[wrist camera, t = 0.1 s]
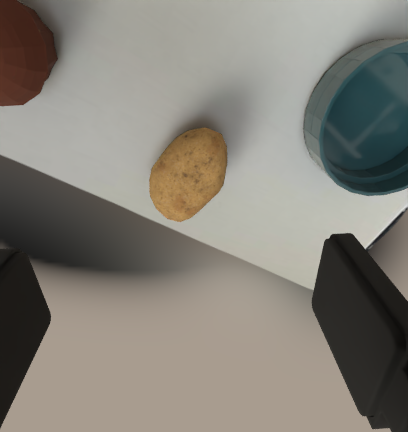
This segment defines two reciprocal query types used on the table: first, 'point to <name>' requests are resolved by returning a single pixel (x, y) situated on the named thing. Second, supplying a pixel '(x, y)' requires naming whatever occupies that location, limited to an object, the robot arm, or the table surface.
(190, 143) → the potato
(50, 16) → the table surface
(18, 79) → the muffin
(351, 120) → the teal shallow dish
